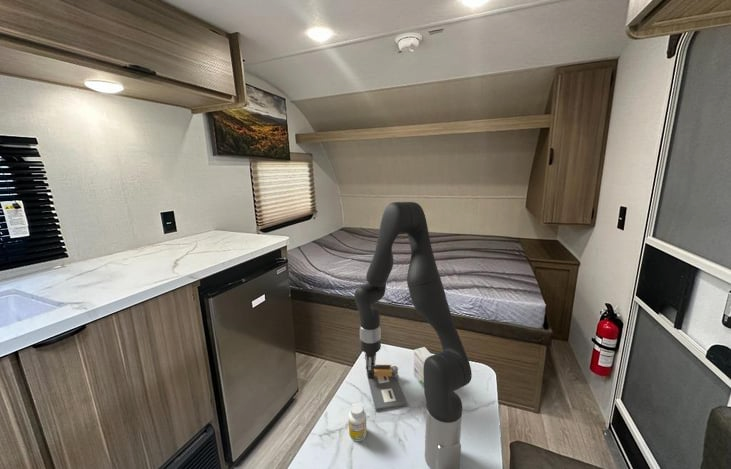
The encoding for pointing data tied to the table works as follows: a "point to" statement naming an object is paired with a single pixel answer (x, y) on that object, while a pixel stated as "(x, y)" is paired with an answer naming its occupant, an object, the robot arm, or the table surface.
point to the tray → (386, 392)
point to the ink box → (420, 363)
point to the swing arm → (385, 370)
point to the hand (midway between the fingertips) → (371, 377)
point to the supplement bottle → (357, 422)
